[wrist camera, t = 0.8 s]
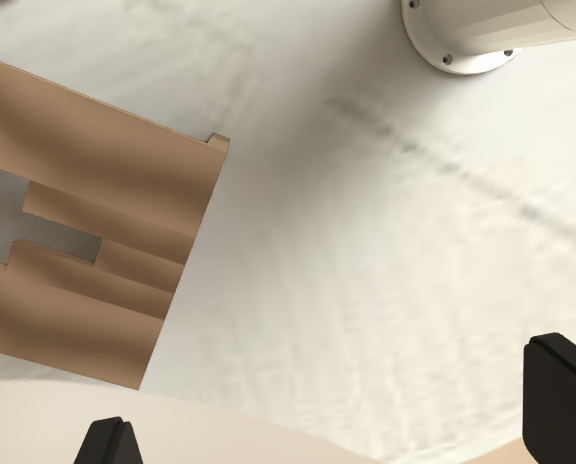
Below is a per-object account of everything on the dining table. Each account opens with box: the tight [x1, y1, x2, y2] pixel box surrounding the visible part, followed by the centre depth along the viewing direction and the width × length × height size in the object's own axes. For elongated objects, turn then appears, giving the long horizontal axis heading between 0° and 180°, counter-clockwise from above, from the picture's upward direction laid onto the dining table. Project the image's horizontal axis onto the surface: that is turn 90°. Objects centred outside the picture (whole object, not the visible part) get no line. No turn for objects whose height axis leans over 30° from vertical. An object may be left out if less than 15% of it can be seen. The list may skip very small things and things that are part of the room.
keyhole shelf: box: [0, 62, 230, 390], centre depth 36 cm, size 20×22×10 cm
